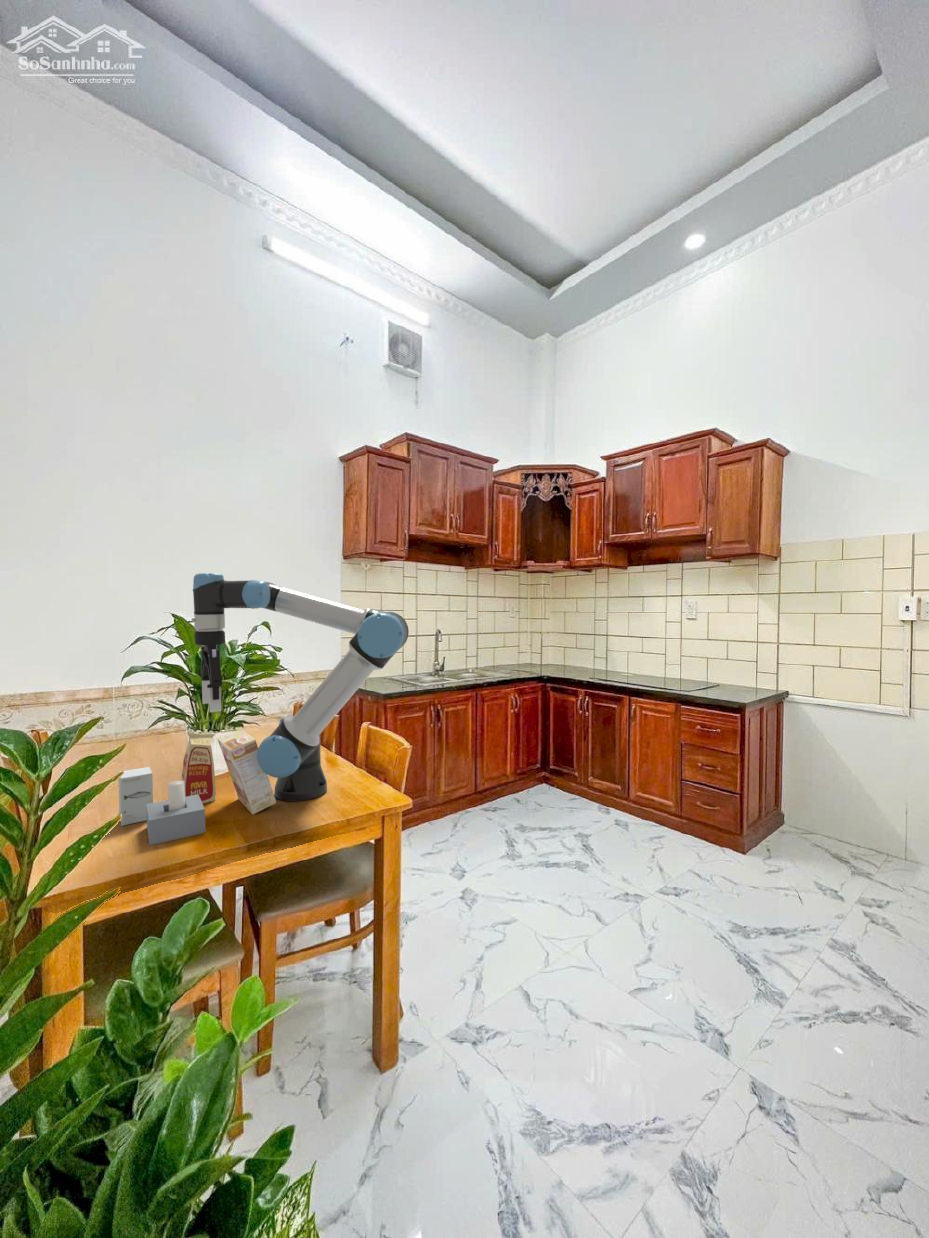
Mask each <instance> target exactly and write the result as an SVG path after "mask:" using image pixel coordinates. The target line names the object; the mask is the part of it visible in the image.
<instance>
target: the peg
mask: <svg viewBox="0 0 929 1238" xmlns="http://www.w3.org/2000/svg"><path fill="white" fill-rule="evenodd" d="M167 787H168V788H167V793H168V794H167V795H168V799H167V800H169V811H173V810H178V809H183V808H185V787H184V781H181V780H173V781H170V782H168V783H167Z"/></svg>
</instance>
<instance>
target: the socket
mask: <svg viewBox="0 0 929 1238" xmlns="http://www.w3.org/2000/svg"><path fill="white" fill-rule="evenodd" d="M205 810H206V809H205V806H204V803H202V801H201V799H200V797H199V794H197V795H192V796H187V797H185V808H183V809H178V810H173V811H169V799H167V800H166V799H165V800H162V801H157V802H153V803H150V804H146V812H147V820H146V830H147V835H148V836H147V837H148V838H147V839H148V842H149V843H148V845H149V846H153V845H158V844H161V843H166V842H171V841H175V840H179V839H184V838H188V837H193V836H196V835H197V836H198V835H202V834H205V833H206V811H205Z"/></svg>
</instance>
